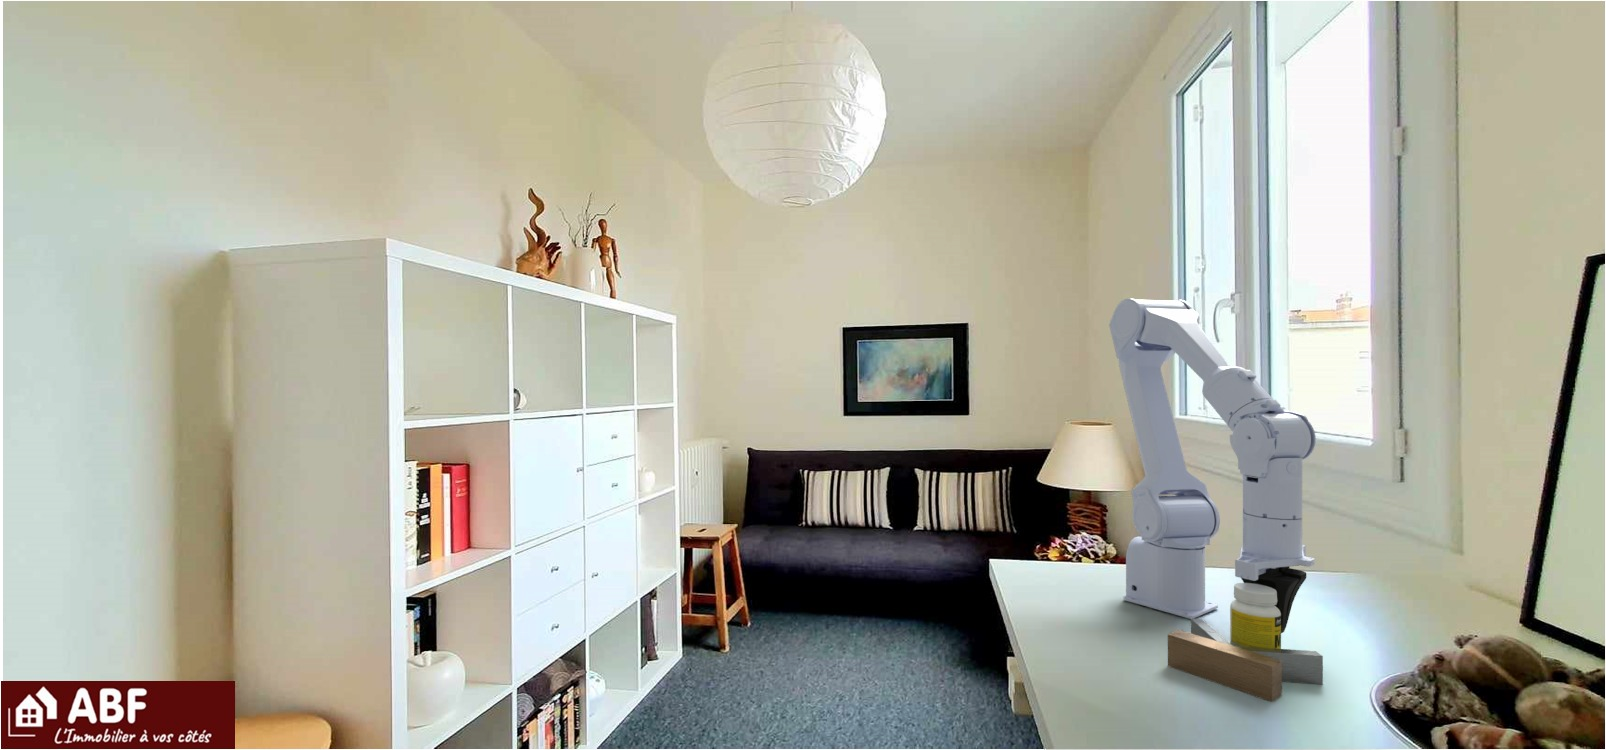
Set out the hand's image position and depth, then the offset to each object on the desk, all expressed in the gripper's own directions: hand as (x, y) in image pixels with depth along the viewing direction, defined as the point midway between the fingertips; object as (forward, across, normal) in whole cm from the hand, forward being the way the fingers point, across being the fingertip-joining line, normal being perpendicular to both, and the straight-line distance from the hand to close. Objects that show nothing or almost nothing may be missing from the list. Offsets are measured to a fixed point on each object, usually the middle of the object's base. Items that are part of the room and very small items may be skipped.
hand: (1271, 630), depth 77 cm
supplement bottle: (+3, -5, 0) cm, 6 cm away
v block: (+2, -10, 0) cm, 10 cm away
